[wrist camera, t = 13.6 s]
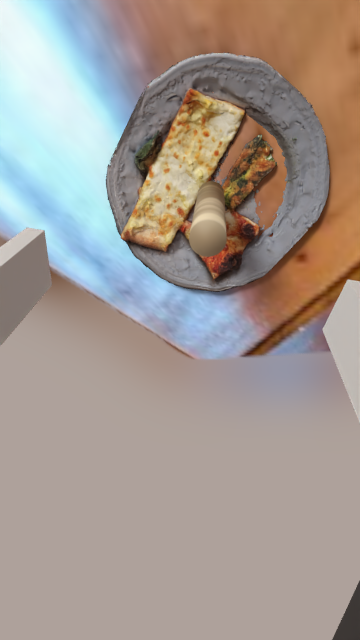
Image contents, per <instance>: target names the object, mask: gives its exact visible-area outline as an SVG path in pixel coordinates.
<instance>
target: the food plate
mask: <svg viewBox="0 0 360 640" xmlns="http://www.w3.org/2000/svg"><path fill="white" fill-rule="evenodd" d="M144 90H145V89H144ZM212 92H214V93H212ZM142 94H143V93H142ZM142 94H141V96H140V98H141V99H139V100H138V102H137V104H136V107H135V109H134V111H133V113H132V115H131V116H132V117H130V119H129V121H128V123H127V126H126V128H125V130H124V132H123V134H122V136H121V138H120V141H119V143H118V145H117V147H116V148H117V149H115V151H114V154H113V155H114V156H113V158H111V160H110V161H111V162H109V163H110V164H111V165H108V168H107V176H106V178H107V179H106V188H107V194H108V200H109V203H110V206H111V209H112V212H113V215H114V219H115V222H116V227H117V230H118V232H119V234H120V235H121V239H123V240H124V241H126V243H127V244H128V246H129V248H130V250H131V251H132V253H133V254H134V256H135V257H136V258H137V259H139V260H140V261H141V262H142V263H143V264H144V265H145V266H146V267H148V268H149V269H150V270H152V271H153V272H154V273H155V274H156V275H158V276H159V277H160V278H162V279H164V280H166V281H168V282H169V283H173V284H174V285H176V286H180V287H184V288H188V289H198V290H206V291H211V292H212V291H213V292H220V291H225V290H228V289H229V288H233V287H238V286H243V285H245V284H248V283H250V282H253V281H254V280H256V279H259V278H261V277H263V276H264V275H265V274H266V273H268V272H269V270H271V269H272V268H273V266H275V265H276V264H277V262H278V261H280V259H281V258H282V257H283V256H284V255H285V254H286V253H287V252H288V251H289V250H290V249H291V248H292V247H293V245H294V244H296V242H297V241H299V240H300V238H301V237H302V236H303V235H304V234H305V233H306V232H307V231H308V230H309V229H308V230H307V228H309V227H312V224H313V223H315V222H316V221H317V220H318V218H319V217H320V214H321V212H322V210H323V208H324V206H325V202H326V199H327V196H328V190H329V176H330V171H329V169H330V168H329V160H328V156H327V155H328V154H327V146H326V141H325V140H326V136H325V135H324V131H323V130H322V129H323V128H322V125H321V124H320V122H319V120H318V117H317V116H316V115H315V112H314V109H312V108H313V107H312V105H311V104H309V103H310V102H309V103H308V102H307V100H306V97H303V96H302V94H301V93H300V92H299V91H298V90H297V89H296V88H295V87H293V86H292V85H291V84H290V83H289V82H288V81H287V80H286V79H285V78H284V77H283V76H282V75H280V74H279V73H278V72H277V71H276V70H275V69H272V67H271V66H270V65H268V63H267V62H265V61H263V60H261V59H260V58H259V59H258V58H255V57H249V56H247V57H246V56H245V55H244V56H242V55H239V56H236V55H234V54H229V52H228V53H225V52H224V53H219V54H218V53H217V54H216V53H210V54H202V55H201V54H200V55H198V56H193V57H192V58H191V57H190V58H188V59H186V60H185V61H184V60H183V61H181V62H179V63H178V62H177V64H176V65H174V66H173V65H172V66H171V67H170V68H169V69H168V70H166V72H164V73H163V74H162V75H160V76H159V77H158V78H156V79H154V80H152V81H151V83H150V84H148V87H146V90H145V92H144V95H142ZM142 96H143V97H142ZM245 112H246V113H247V115H248V116H250V117H251V118H253V119H254V120H255V121H256V122H257V123H258V124H260V125H261V126H263V128H265V129H266V130H267V131H268V132H269V133H270V134H271V135H273V136H274V137H275V138H276V140H277V142H278V145H279V146H280V148H281V149H282V150H283V152H282V155H283V156H284V157H285V162H284V164H285V166H286V168H287V177H286V179H285V181H287V184H286V189H285V191H284V192H283V193H284V195H283V198H284V201H283V203H282V205H281V207H280V206H279V209H278V211H277V212H276V214H277V218H276V220H274V222H273V225H272V226H271V227H269V228H268V229H267V230H265V231H264V232H263V233H262V235H261V236H260V237H259V238H257V237H258V236H259V235H258V234H259V231H260V230H264V225H263V228H261V229H260V225H258V220H260V218H258V215H257V214H256V213H255V208H256V207H257V205H256V203H255V199H254V198H253V197H254V195H255V194H254V193H255V191H253V188H254V186H257V185H258V183H259V182H260V181H261V180H262V179H263V178H264V177H265V176H266V175H268V173H270V172H271V170H273V168H274V167H275V166H277V162H275V161H274V159H273V157H272V155H271V153H272V150H273V149H272V148H271V146H270V145H269V144H268V143H267V141H265V142H264V141H263V140H262V135H258V136H257V137H255V138H254V140H252V141H250V142H249V143H248V144H246V145H245V147H244V148H243V152H242V153H241V155H240V158H239V159H238V160H237V161H236V162H235V164H234V165H233V166H232V167H231V169H230V171H229V173H228V175H227V177H226V178H225V179H222V180H221V181H222V185H221V186H222V188H223V190H224V199H225V217H226V235H227V241H226V245H225V247H224V249H223V250H222V251H221V252H220V253H218V254H217V255H214V256H211V257H205V256H201V255H199V254H197V253H196V252H194V250H193V249H192V248H191V246H190V243H189V235H190V230H191V225H192V220H193V214H194V209H195V204H196V199H197V194H198V190H199V188H200V187H201V185H202V184H204V183H205V182H208V181H210V180H212V179H213V177H215V176H216V177H217V176H218V175H219V173H218V171H221V169H220V168H219V167H218V166H219V165H218V163H219V162H220V163H223V161H224V160H225V158H226V157H225V156H228V155H227V153H228V145H231V143H232V144H233V140H234V138H235V137H236V134H237V132H238V130H239V126H240V123H241V121H242V118H243V117H244V114H245ZM217 168H218V169H217ZM212 174H213V176H212ZM212 181H214V182H215V180H214V179H213V180H212ZM219 182H220V181H218V180H217V183H219ZM253 192H254V193H253ZM256 193H258V190H256ZM243 199H244V200H245V202H244V201H243ZM250 201H251V203H250ZM259 205H260V202H259ZM248 209H249V210H248ZM261 213H262V211H261ZM274 214H275V213H274ZM273 217H274V216H273ZM253 218H254V220H253ZM272 233H273V236H272V237H268V236H269V235H270V234H272ZM257 235H258V236H257ZM255 238H256V239H255Z"/></svg>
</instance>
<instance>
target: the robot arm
mask: <svg viewBox="0 0 360 640" xmlns="http://www.w3.org/2000/svg"><path fill="white" fill-rule="evenodd" d="M51 286H52V283H51V275H50V268H49V261H48V253H47V246H46V239H45V232H44V230H38V229H32V228H26V229H24V230H23V231H22V232H20V233H19V234H18V235H16V236H15V237H14V238H12V239H11V240H9V241H8V242H7V243H6V244H4V245H3V246H1V247H0V346H1V345H2V343H3V342H4V341H5V340H6V339H7V338H8V336H9V335H10V334H11V333H12V332H13V330H14V329H15V328H16V327H17V326H18V325H19V323H20V322H21V321H22V320H23V319H24V318H25V316H26V315H27V314H28V313H29V312H30V310H31V309H32V308H33V307H34V306H35V305H36V303H37V302H38V301H39V300H40V299H41V298H42V296H43V295H44V294H45V293H46V292H47V290H48V289H49V288H50V287H51ZM323 332H324V335H325V337H326V340H327V342H328V345H329V347H330V350H331V352H332V355H333V357H334V360H335V363H336V365H337V368H338V370H339V372H340V375H341V378H342V380H343V383H344V385H345V388H346V390H347V393H348V395H349V398H350V400H351V403H352V405H353V408H354V410H355V413H356V415H357V418H358V420H359V423H360V282H359V281H353V280H347V282H346V284H345V286H344V288H343V290H342V292H341V294H340V296H339V298H338V300H337V302H336V304H335V306H334V308H333V310H332V312H331V314H330V316H329V318H328V320H327V322H326V324H325V326H324V328H323ZM332 640H360V581H359V583H358V585H357V588H356V590H355V592H354V594H353V596H352V598H351V600H350V603H349V605H348V607H347V609H346V611H345V614H344V616H343V618H342V620H341V622H340V624H339V626H338V629H337V631H336V633H335V635H334V637H333V639H332Z"/></svg>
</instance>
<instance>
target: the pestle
mask: <svg viewBox="0 0 360 640" xmlns="http://www.w3.org/2000/svg"><path fill="white" fill-rule="evenodd" d="M226 241H227V235H226V217H225V199H224V190H223V188H222V186H221V185H220V184H219V183H217V182H214V181H208V182H205V183H204V184H202V185H201V187H200V188H199V190H198V194H197V199H196V204H195V209H194V214H193V220H192V225H191V230H190V235H189V243H190V246H191V248H192V249H193V250H194V252H196V253H197V254H199V255H201V256H205V257H211V256H214V255H217V254H218V253H220V252H221V251H222V250H223V249H224V247H225V245H226Z"/></svg>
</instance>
